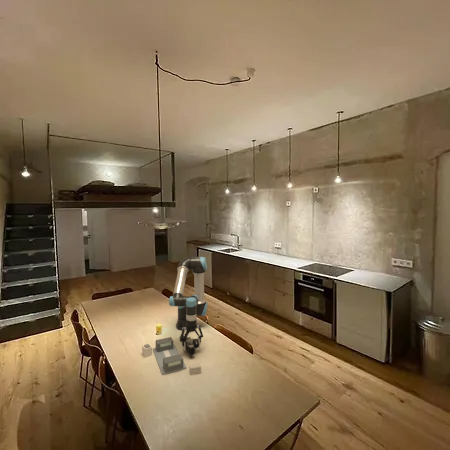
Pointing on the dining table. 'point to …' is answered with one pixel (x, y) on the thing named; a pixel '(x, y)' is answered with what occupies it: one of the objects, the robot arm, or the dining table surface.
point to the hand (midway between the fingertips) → (191, 348)
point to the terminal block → (195, 369)
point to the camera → (191, 345)
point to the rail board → (168, 356)
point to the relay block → (147, 350)
